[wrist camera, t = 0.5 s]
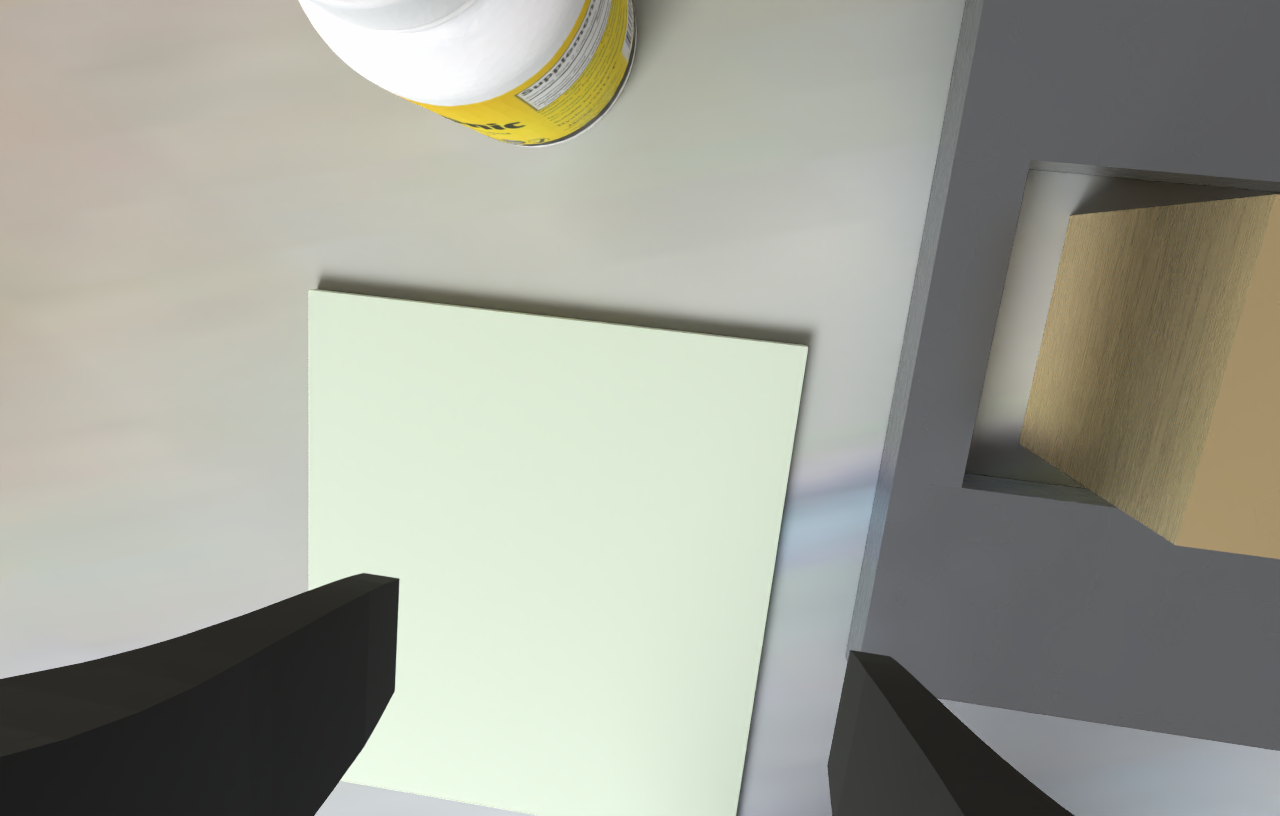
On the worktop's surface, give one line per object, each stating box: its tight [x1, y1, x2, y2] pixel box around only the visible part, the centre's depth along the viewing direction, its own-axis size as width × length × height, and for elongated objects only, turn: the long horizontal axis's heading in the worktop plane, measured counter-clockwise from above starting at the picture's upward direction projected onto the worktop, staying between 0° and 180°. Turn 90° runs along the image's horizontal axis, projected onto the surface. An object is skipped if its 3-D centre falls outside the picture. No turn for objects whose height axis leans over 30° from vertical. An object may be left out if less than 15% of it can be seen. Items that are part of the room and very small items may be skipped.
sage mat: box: [308, 289, 808, 816], centre depth 22 cm, size 16×14×1 cm
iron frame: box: [846, 0, 1280, 751], centre depth 18 cm, size 20×11×2 cm, turn 175°
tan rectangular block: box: [1019, 194, 1280, 559], centre depth 15 cm, size 6×4×7 cm, turn 175°
